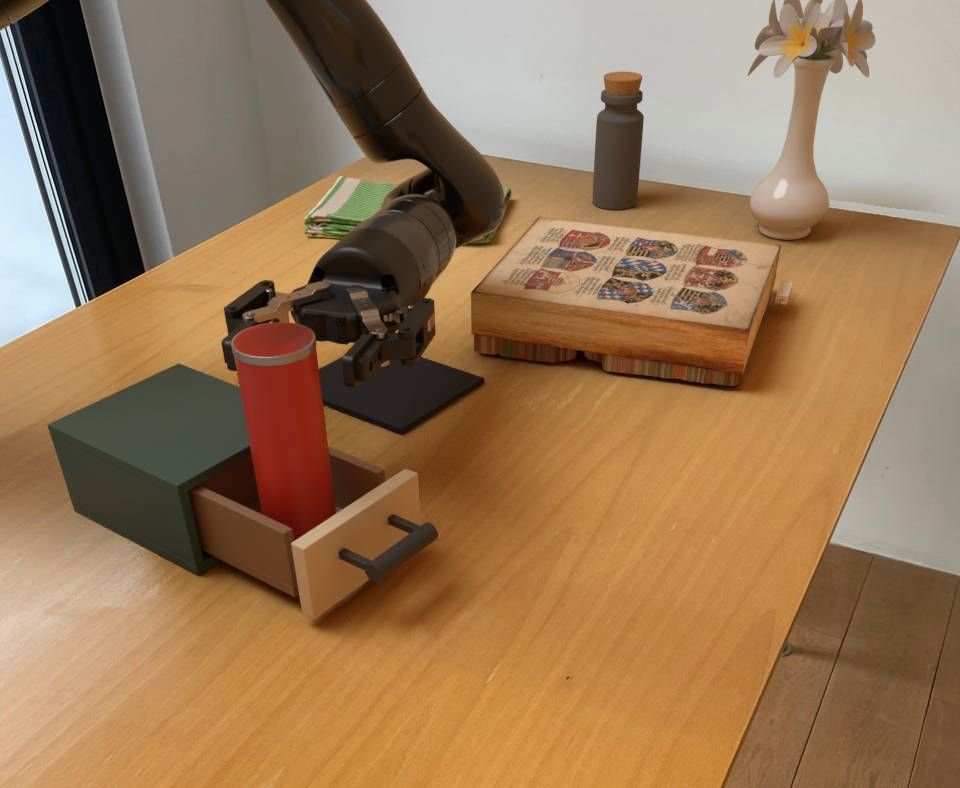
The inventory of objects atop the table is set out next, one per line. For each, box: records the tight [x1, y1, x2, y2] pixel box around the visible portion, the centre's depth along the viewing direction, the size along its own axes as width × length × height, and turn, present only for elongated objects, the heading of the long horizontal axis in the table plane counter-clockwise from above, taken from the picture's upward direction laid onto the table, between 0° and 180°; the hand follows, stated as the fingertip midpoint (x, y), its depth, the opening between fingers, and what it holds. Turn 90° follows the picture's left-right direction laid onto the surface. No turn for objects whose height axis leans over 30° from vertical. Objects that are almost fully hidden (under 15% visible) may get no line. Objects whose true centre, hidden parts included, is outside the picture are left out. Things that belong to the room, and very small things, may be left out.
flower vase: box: [747, 0, 876, 241], centre depth 120 cm, size 13×18×25 cm
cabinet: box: [46, 362, 252, 576], centre depth 80 cm, size 15×13×8 cm
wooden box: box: [470, 216, 794, 387], centre depth 106 cm, size 25×6×28 cm
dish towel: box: [303, 175, 512, 245], centre depth 132 cm, size 18×23×3 cm
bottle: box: [592, 71, 645, 211], centre depth 132 cm, size 6×6×15 cm
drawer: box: [188, 445, 439, 620], centre depth 74 cm, size 17×11×6 cm, turn 53°
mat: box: [319, 356, 485, 436], centre depth 97 cm, size 14×12×1 cm
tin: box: [231, 321, 336, 541], centre depth 71 cm, size 5×5×15 cm
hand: (288, 366), depth 69 cm, fingers open, 8 cm apart
